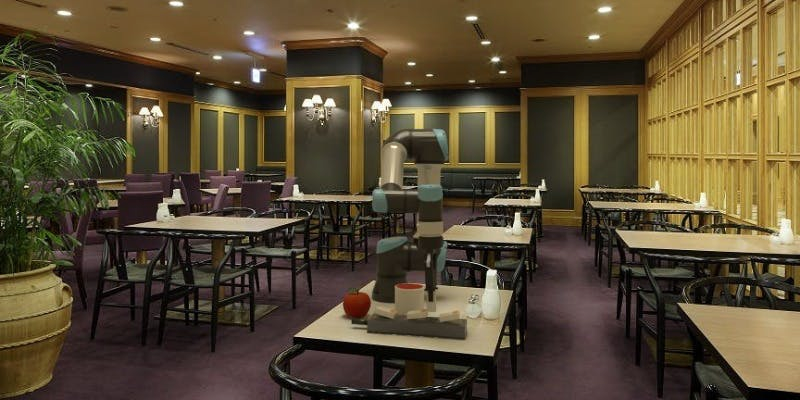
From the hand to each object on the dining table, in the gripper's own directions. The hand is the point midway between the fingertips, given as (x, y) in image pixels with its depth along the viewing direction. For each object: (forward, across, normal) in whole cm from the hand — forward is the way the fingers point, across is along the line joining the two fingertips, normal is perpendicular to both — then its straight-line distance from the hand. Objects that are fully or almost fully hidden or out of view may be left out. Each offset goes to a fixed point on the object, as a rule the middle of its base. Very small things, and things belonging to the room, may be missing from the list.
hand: (431, 311), depth 180 cm
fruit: (+6, -13, -28) cm, 31 cm away
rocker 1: (+1, 0, -14) cm, 14 cm away
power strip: (+7, 0, -8) cm, 10 cm away
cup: (+7, -19, -10) cm, 23 cm away
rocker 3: (+1, 0, +6) cm, 6 cm away
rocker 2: (+1, 0, -4) cm, 5 cm away
